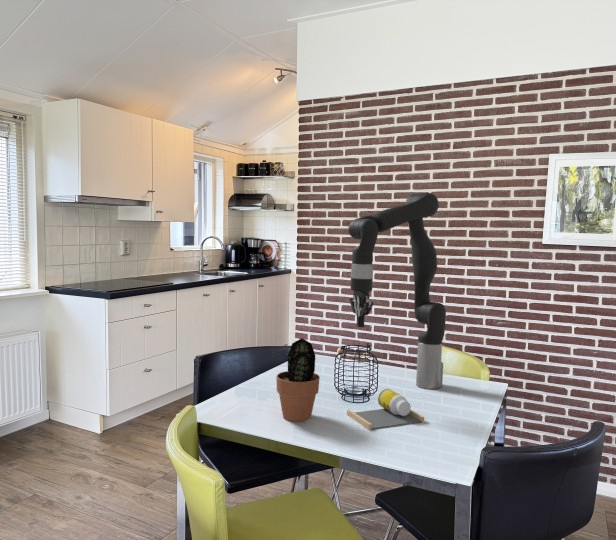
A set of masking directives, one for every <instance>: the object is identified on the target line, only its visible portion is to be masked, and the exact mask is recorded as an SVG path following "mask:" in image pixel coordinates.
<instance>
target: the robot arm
mask: <svg viewBox="0 0 616 540" xmlns="http://www.w3.org/2000/svg"><path fill="white" fill-rule="evenodd" d="M439 204H440V203H439V199H438V197H437V196H436V195H435V194H434V193H431V192H417V193H411V194H409V195H408V196H407V197H406V201H405V204H402V205H398V206H393V207H390V208H387V209H386V208H385V209H384V210H381V211H378V212H376V213H374V214H369V215H365V216H361V217H357V218H355V219H353V220H352V221H351V222H350V223H349V225H348V229H347V231H348V234H349V236H350V237H352V238H353V239H355V240H360V243H359V245H358V246H354V247H353V248H352V252H351V253H352V255H351V268H350V291H352V297H350V298H349V303H350V306H351V309H352V313H353V314H355V317H356V327H358V328H364V327H365V317H366V316H368V315H369V314H370V312H371V310H372V308H373V307H374V302H373V301H371V300H370V297H371V296H370V292H372V291H373V286H374V285H373V283H374V282H373V278H374V277H373V276H374V275H373V274H374V269H373V267H374V266H373V260H374V259H373V258H374V257H373V256H374V253H373V252H374V250H375V246H376V242H377V240H378V239H377V238H378V236H379V233H383V232H386V231H389V230H391V229H393V228H395V227H398V226H400V225H403V224H406V223H407V224H408V230H409V236H410V247H411V260H412V269H413V281H414V282H413V283H414V284H413V285H414V286H413V287H414V305H413V306H414V310H413V311H414V316H415V317H414V318H415V319H416V321H417V322H418V323H419V324H422V325H427V329H426V332H422V333H419V335H418V336H417V352H416V353H417V357H416V358H417V359H416V376H415V377H416V378H415V380H416V381H415V385H416V386H417V387H419V388H422V389H429V390H436V389H439V388H441V387H443V381H444V380H443V378H444V377H443V376H444V362H443V361H442V357H443V356H442V353H443V352H442V351H443V339H444V336H445V331H446V322H447V321H446V320H447V309H446V307H445V305H444V304H443V303H441V302H437V301H431V299H430V298H431V297H430V287H431V285H432V282H433V280H434V278H435V275H436V274H437V270H438V258H437V249H436V248H435V245H434V244H433V241H432V240H431V239H430V237H429V236H428V234H427V232H426V228H425V224H424V218H430V217H432V216H434V215H435V214H436V213H437V212H438V210H439Z"/></svg>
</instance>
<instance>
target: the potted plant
mask: <svg viewBox="0 0 616 540" xmlns="http://www.w3.org/2000/svg"><path fill="white" fill-rule="evenodd" d="M288 351H289V352H288V353H287V370H286V371H283V372H282V371H281V372H279V373H277V374H276V376H275V377H276V392H277V394H278V395H279V396H278V397H279V401H280V408H281V412H282V413H281V414H282V417H283V419H285V420H286V421H290V422H297V423H299V422H307V421H309V420H310V419H311V418H312V415H313V414H312V413H313V409H314V406H315V400H316V395H317V394H319V389H320V388H319V387H320V375H319V374H318V373H315V371H316V354H315V350H314V348H313V344H312V343H311V342H309V341H307V340H306V339H304V338H303V337H301V338H300V339H297V340H296V341H294V342H292V343H291V346H290V349H289V350H288Z"/></svg>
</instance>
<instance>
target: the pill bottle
mask: <svg viewBox="0 0 616 540" xmlns="http://www.w3.org/2000/svg"><path fill="white" fill-rule="evenodd" d="M377 402H378V405H379V406H380V407H381V408H382V409H386V410H388V411H389V412H391V413H393V414H395V415H402V416H405V415H407V414H408V413H409V412H410V410H412V408H411V403H410V402H409V401H407V399H406V397H404V396H403V395H402V394H400V393H398V392H396V391H394V390H392V389H389V388H386V389H383V390H381V391H380V392H379V393H378V396H377Z"/></svg>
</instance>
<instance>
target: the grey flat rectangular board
mask: <svg viewBox="0 0 616 540" xmlns="http://www.w3.org/2000/svg"><path fill="white" fill-rule="evenodd" d="M346 415H347V416H348V417H349V416H350V417H349V418H351V419H353V420H354V421H355V422H357V423H358V424H360V425H361V426H363V427H364V428H366V429H367V430H369V431H371V430H378V429H384V428H385V429H386V428H391V427H400V426H404V425H405V426H407V425H411V424H419V423H425V416H424V415H422V414H420V413H418V412H416V411H414V410H413V409H411V410H410V412H409V413H408V414H407V415H405V416H402V415H395V414H393V413H391V412H389V411H388V410H386V409H384V408H379V409H371V410H364V411H362V410H361V411H355V412H354V411H353V410H352V409H346Z"/></svg>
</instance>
